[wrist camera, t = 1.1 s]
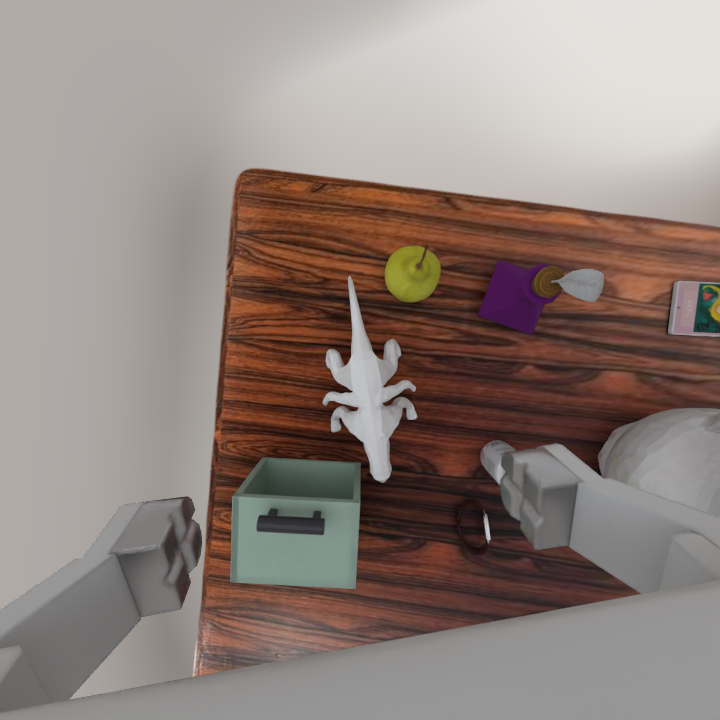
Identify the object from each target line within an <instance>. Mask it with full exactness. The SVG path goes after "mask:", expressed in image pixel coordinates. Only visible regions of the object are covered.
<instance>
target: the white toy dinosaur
mask: <svg viewBox="0 0 720 720" xmlns="http://www.w3.org/2000/svg"><path fill="white" fill-rule="evenodd" d="M348 287H349V295H350V306H351V319H352V345H351V358H350V360H349V362H348V364H347V365H345V366H344V363H343V361H342V359H341V356H340V353H339V352H337V350H334V349H329V350H328V351H327V354H326V365H327V367H328V368H329V369H331V372H332V375H333V377H334V379H335V380H336V381H337V382H338V383H340V384H342V385H343V386H345V387H347V388H348V389H350V390H351V391H353V392H351V393H343V394H340V393H337V392H329V393H328V394H326V396H325V398H324V400H323V404H324V405H325V406H326V405H327V404H328V402H329V401H336V402H338V403H341V404H346V405H349V406H354V407H358V410H357V411H350V410H349V409H348V408H347V407H344V406H341V407H338V408H337V409H336V410H335V411H334V412H333V415H332V417H331V431H333V432H337V431H340V430H341V424H340V422H339V418H342V421H343V423H344V425H345V426H346V427H347V428H348V429H349V432H351V433H352V434H354V435H355V436H356V437H357V438H358V439H360V440H361V441H362V442H364V447H365V451H366V453H367V456H368V459H369V462H370V473H371V474H372V476H373V477H374V479H375V480H378V481H380V482H382V483H384V482H385V481H386V480H387V479H388V478H389V477H390V474H391V470H392V468H391V464H390V461H389V448H390V445H389V438H390V436H391V435H392V433H393V431H394V430H395V428H396V427H397V426H398V424H399V421H400V419H401V416H402V411H403V407H404V408H406V417H407V419H409V420H413V419H416V418H417V414H416V412H415V409H414V406H413V404H412V403H411V402H410V401H409V400H408V399H407V398H404V397H398V398H396V399H395V400H394V401H393V403H392V405H389V406H384V405H383V403H384V402H386V401H388V400H390V399H391V398H393V397H394V396H396V395H398V394H399V393H401V392H402V391H403V390H404V389H407V388H410V389H411V390H412V391H413V392H414V391H415V390H416V387H415V386H414V385H413V384H412V383H411V382H410V381H408V380H403V381H400V382H399V383H397V384H396V385H390V386H387V387H383V386H384V385H385V383H386V382H387V381H388V380H389V379H390V378H391V377H392V376H393V375H394V374H395V372H396V370H397V365H398V358H399V357H400V356H401V351H400V347H399V345H398V343H397V342H396V340H394V339H391V340H388V341H387V342H386V344H385V346H384V356H383V358H384V360H382V359H379V358H378V357H377V356H376V355H375V354H374V353H373V350H372V346H371V344H370V342H369V339H368V337H367V335H366V332H365V329H364V325H363V321H362V317H361V313H360V309H359V305H358V301H357V297H356V293H355V288H354V284H353V281H352V279H351V277H350V276H349V277H348Z"/></svg>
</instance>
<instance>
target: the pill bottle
mask: <svg viewBox="0 0 720 720" xmlns="http://www.w3.org/2000/svg"><path fill="white" fill-rule="evenodd" d="M509 451H516V450H515V449H514V448H513V447H511V446H510V445H509V444H507V443H506V442H503V441H499V440H496V441H491V442H489V443H488V444H486V445H485V446H484V448H483V449H482V451H481V455H480V459H481V463H482V465H483V467H484V468H485V469H486V470H487V471H488V473H489V474H490V475H491V476H492V477H493V478H494V479H495V480H496V481H497V483H498V484H499V485H500V479H501V478H502V476H503V475H504V474H505V472H506V471H505V470H504V469H503V468H502V467H501V457H502V455H503V453H504V452H509Z"/></svg>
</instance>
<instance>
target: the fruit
mask: <svg viewBox="0 0 720 720" xmlns="http://www.w3.org/2000/svg"><path fill="white" fill-rule="evenodd" d="M427 249H428V245H426V246H425V248H423V247H420V246H407V247H403V248H401V249H399V250H397V251H396V252H395V253H393V255H392V256H391V257H390V258H389V260H388V262H387V265H386V269H385V282H386V286H387V288H388V290H389V291H390V292H391V293H392V294H393V295H394V296H395V297H396V298H398V299H399V300H401V301H404V302H417V301H420V300H423V299H425V298H427V297H429V296H430V295H431V294H432V293H433V291H434V289H435V288H436V286H437V284H438V281H439V278H440V269H441V267H440V262H439V261H438V259H437V257H436V256H435V255H434V254H433V253H432V252H430V251H429V250H427Z"/></svg>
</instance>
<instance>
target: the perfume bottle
mask: <svg viewBox="0 0 720 720" xmlns="http://www.w3.org/2000/svg"><path fill="white" fill-rule="evenodd" d="M603 283H604V275H603V274H602V273H601V272H600V271H597V270H593V269H581V270H577V271H572V272H571V273H569V274H567V275H566V276H564V274H563V272H562V271H561V270H560V269H559V268H558V267H554V266H548V265H543V264H540V265H538V266H535V267H532V268H530V269H529V270H527V269H524V268H521V267H518V266H515V265H513V264H510V263H507V262H504V261H501V260H499V261H498V262H497V265H496V268H495V270H494V273H493V276H492V278H491V281H490V284H489V286H488V289H487V292H486V294H485V297H484V300H483V302H482V305H481V308H480V310H479V313H478V316H479V317H482V318H485V319H488V320H490V321H493V322H496V323H499V324H502V325H505V326H508V327H510V328H513V329H516V330H519V331H522V332H525V333H527V334H532V333H533V332H534V330H535V327H536V324H537V322H538V319H539V317H540V314H541V312H542V309H543V306H544V305H545V304H548V303H551V302H553V301H554V300H555V299H556V298H557V296H558V295H559V294H560V293H561V290H562V289H563V290H564V291H565V292H567V293H569V294H570V295H572V296H574V297H576V298H579V299H582V300H585V301H591V302H594V301H596V300H597V298H598V297H599V295H600V293H601V292H602V289H603Z"/></svg>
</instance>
